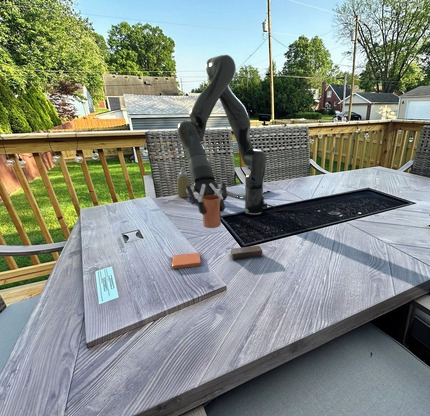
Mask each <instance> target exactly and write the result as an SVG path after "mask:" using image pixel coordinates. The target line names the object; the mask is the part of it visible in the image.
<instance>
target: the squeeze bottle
mask: <svg viewBox="0 0 430 416" xmlns="http://www.w3.org/2000/svg"><path fill="white" fill-rule="evenodd" d="M187 186H190V187H191V183H190V178H189V176H188V172H186V171H185V168H184V166H181V168H180V172H179V173H178V176H177V177H176V192H177V195H178V197H180V198H188V195H187V193H186V188H187Z"/></svg>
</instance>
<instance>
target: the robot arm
mask: <svg viewBox="0 0 430 416" xmlns="http://www.w3.org/2000/svg"><path fill="white" fill-rule="evenodd" d="M205 70H206V74H207V77H208V79H209V81H210V83H208V85H207V86H206V87H205V88H204V89H203V91H202V92H200V94H199V95H198V96H197V98H196V99H195V101H194V103H193V105H192V106H191V109H190V110H189V119H190V120H188V119H187V120H182V121H180V122H179V123H178V126H177V130H176V131H177V136H178V138H179V141H180V143H181V145H182V147H183V149H184V151H185V156H186V160H187V163H188V169H189V170H188V171H189V173H190V177H191V180H192V183H193V186H191V185H190V186H187V188H186V193H187V195H188V197H187V198H188V200H189V202H190V204H191V205H196V206H197V208H198V213H199V214H201V215H202V216H203V215H204V214H205V209H204V205H203V202H202V197H203V196H206V195H217V196H220V211H221V213H224V211H225V209H226V206H225V205H226V204H225V202H224V201H226V200H227V198H228V195H227V191H226V187H227V186H226V183H225V182H222V183H218V182H216V179H215V175H214V172H213V169H212V166H211V162H210V160H209V159H208V158H209V157H208V155H207V152H206V149H205V147H204V145H203V144H202V142H203V140H204V137H205V133H206V130H207V123H208V120H209V119H210V116H211V114H212V112H213V110H214V108H215V106H216V104H217V102H218V101H220V103H221V105H222V108H223V110H224V113H225V116H226V119H227V121H228V124H229V126H230V129H231V131H232V133H233V135H234V138H235V141H236V143H237V146H238V149H239V153H240V156H241V159H242V162H243V164H244V165H245V166H246V167H248V168H250V172H249V174H246V175H245V179H244V181H245V182H244V184H245V199H244V213H245V214H246V215H248V216H260V215H263V214H264V209H268V207H270V208H272V209H274V210H275V212H279V213H280V212H283V211H293V212H294V211H299V210H300V211H301V210H302V211H304V212H307V209H306V208H304V207H298V208H283V209H277V208H276V207H275V206H274V205H271V204H269V203H268V202H267V201H266V200H265V196H264V194H263V186H264V178H265V177H266V171H267V155H266V153H265V152H264V151H263V150H259V149H255V148H254V146H253V143H252V141H251V136H250V135H251V119H250V116H249V114H248V112H247V109H246V107H245V105H244V104H243V103H242V102H241V101H240V100H239V99H238V98H237V97H236V95H235V94H234V93H233V91H232V89H231V88H230V86H229V85H230V83H231V81H232V80H233V79H234V77H235V75H236V74H237V73H236V72H237V65H236V62H235V60H234V58H233V57H232V56H230V55H228V54H220V55H217V56H214V57H211V58H208V59H207V61H206V63H205ZM218 189H219V190H218ZM220 190H221V192H220ZM194 191H195V192H196V193H197V194H198V197H197V198H196V196H195V195H194ZM303 208H304V209H303Z"/></svg>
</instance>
